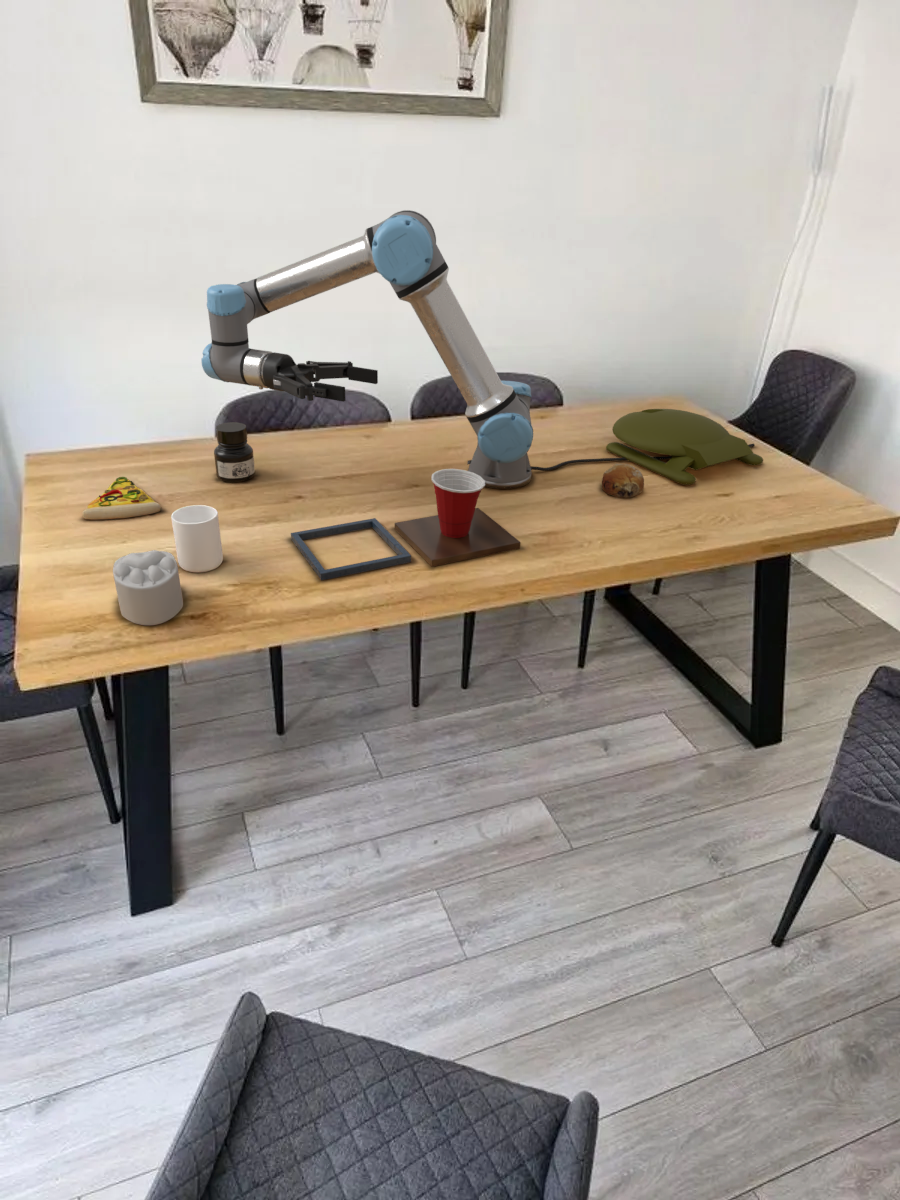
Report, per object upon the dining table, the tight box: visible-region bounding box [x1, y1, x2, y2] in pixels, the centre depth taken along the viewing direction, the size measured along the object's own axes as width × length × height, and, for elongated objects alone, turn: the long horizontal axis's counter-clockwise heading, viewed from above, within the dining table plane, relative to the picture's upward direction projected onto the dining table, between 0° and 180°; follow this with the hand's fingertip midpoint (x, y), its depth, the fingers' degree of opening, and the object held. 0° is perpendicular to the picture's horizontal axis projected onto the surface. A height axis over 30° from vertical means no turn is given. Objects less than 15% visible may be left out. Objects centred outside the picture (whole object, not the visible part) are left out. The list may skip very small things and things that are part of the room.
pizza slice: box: [81, 476, 162, 520], centre depth 179 cm, size 16×21×3 cm
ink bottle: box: [213, 421, 256, 483], centre depth 190 cm, size 10×9×12 cm
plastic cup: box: [431, 468, 485, 538], centre depth 166 cm, size 11×11×12 cm
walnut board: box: [393, 507, 521, 568], centre depth 169 cm, size 20×18×2 cm
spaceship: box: [605, 408, 764, 486], centre depth 214 cm, size 35×31×10 cm
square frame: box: [290, 517, 412, 581], centre depth 163 cm, size 18×18×2 cm
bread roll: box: [601, 463, 645, 499], centre depth 194 cm, size 10×10×8 cm
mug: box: [170, 504, 224, 574], centre depth 155 cm, size 12×8×10 cm
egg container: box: [112, 549, 184, 626], centre depth 141 cm, size 10×13×9 cm
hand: (361, 385), depth 164 cm, fingers open, 13 cm apart
